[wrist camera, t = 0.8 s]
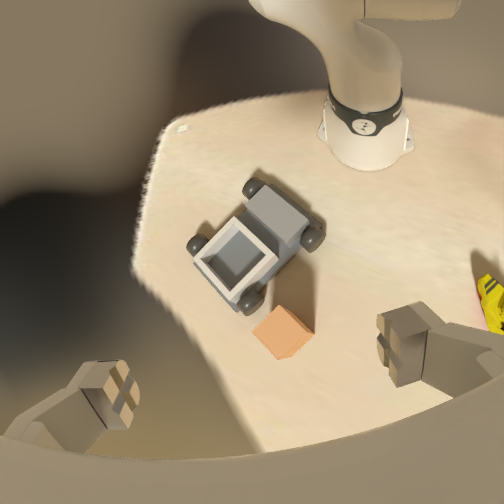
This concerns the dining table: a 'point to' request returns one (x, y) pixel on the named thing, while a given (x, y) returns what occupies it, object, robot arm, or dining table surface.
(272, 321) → the block
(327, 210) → the dining table surface
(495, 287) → the toy boat
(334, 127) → the robot arm
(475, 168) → the dining table surface
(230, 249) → the chassis
